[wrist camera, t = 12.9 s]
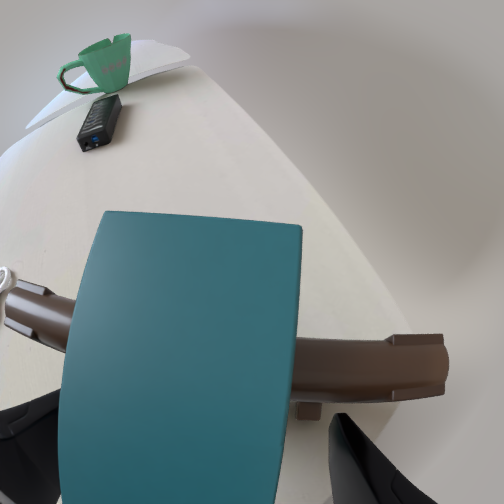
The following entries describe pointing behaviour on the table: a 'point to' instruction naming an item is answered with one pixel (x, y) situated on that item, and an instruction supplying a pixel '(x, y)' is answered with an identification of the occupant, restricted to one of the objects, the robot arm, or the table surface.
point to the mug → (103, 65)
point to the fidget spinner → (7, 277)
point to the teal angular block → (180, 361)
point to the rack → (305, 362)
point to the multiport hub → (99, 123)
